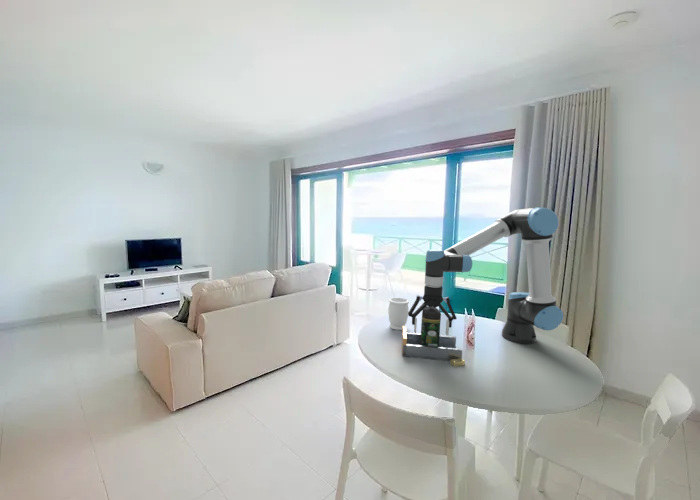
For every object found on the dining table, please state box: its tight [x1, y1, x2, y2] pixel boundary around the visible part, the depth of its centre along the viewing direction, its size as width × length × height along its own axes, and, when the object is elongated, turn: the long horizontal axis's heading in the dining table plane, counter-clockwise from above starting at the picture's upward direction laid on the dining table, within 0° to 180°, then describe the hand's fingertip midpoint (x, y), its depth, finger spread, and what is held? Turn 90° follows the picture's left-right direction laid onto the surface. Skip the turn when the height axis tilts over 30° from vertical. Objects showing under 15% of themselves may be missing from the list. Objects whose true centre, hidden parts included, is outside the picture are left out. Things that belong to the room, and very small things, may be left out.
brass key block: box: [449, 358, 466, 367], centre depth 124 cm, size 5×2×2 cm, turn 109°
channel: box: [401, 325, 463, 362], centre depth 135 cm, size 24×15×8 cm, turn 81°
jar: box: [387, 297, 410, 331], centre depth 163 cm, size 11×10×15 cm
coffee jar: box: [420, 306, 442, 347], centre depth 134 cm, size 10×8×19 cm
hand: (430, 333), depth 135 cm, fingers open, 13 cm apart
